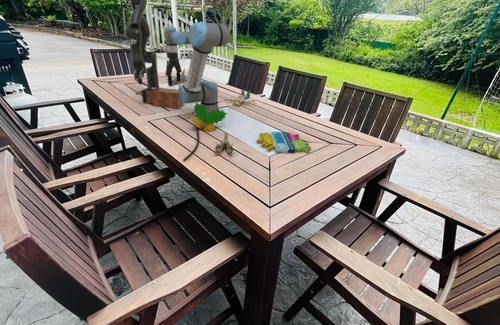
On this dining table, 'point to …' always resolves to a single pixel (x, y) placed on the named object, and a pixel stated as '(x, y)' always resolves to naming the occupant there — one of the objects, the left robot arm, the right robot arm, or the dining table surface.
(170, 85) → the airplane
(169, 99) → the cabinet
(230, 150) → the jawbone
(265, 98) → the dining table surface
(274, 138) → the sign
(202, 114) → the ornament
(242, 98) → the toy
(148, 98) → the drawer
